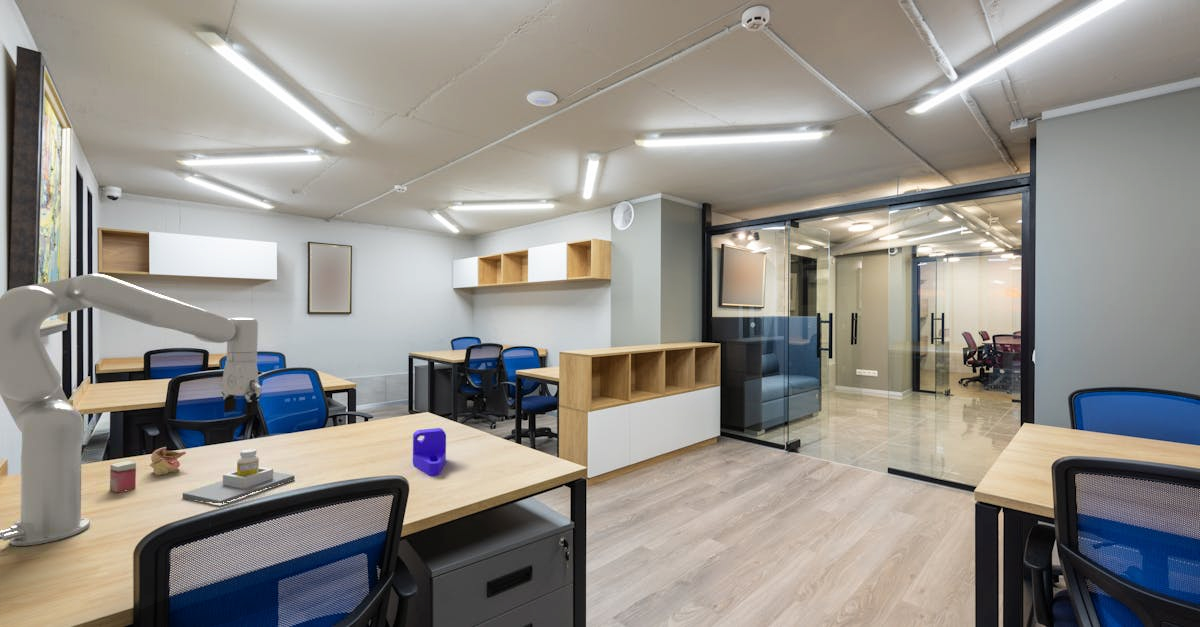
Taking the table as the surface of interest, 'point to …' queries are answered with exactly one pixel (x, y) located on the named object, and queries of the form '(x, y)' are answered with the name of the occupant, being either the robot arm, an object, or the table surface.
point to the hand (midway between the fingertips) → (240, 413)
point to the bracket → (429, 451)
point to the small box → (122, 476)
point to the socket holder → (237, 486)
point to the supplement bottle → (247, 463)
